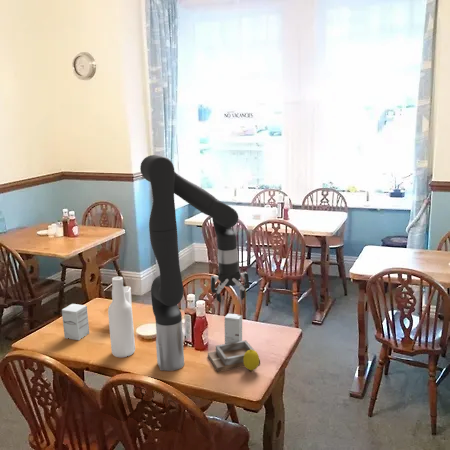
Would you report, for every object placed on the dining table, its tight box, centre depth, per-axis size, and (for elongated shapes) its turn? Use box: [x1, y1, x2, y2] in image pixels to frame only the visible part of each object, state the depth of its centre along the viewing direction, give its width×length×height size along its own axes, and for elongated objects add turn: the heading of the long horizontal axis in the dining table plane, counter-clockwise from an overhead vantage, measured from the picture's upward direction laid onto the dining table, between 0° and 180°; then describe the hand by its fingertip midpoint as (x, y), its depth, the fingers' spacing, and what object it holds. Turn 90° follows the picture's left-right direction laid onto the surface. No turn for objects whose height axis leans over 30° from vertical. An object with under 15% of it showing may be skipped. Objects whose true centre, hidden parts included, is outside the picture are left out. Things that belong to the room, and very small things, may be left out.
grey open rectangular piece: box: [207, 340, 261, 373], centre depth 188 cm, size 16×12×4 cm
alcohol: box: [107, 276, 136, 358], centre depth 194 cm, size 9×9×30 cm
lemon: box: [243, 349, 260, 372], centre depth 180 cm, size 6×6×8 cm
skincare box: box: [224, 313, 243, 344], centre depth 199 cm, size 6×4×12 cm
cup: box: [111, 285, 133, 309], centre depth 223 cm, size 7×7×15 cm
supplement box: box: [61, 303, 90, 341], centre depth 211 cm, size 7×7×13 cm
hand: (231, 300), depth 194 cm, fingers open, 8 cm apart
